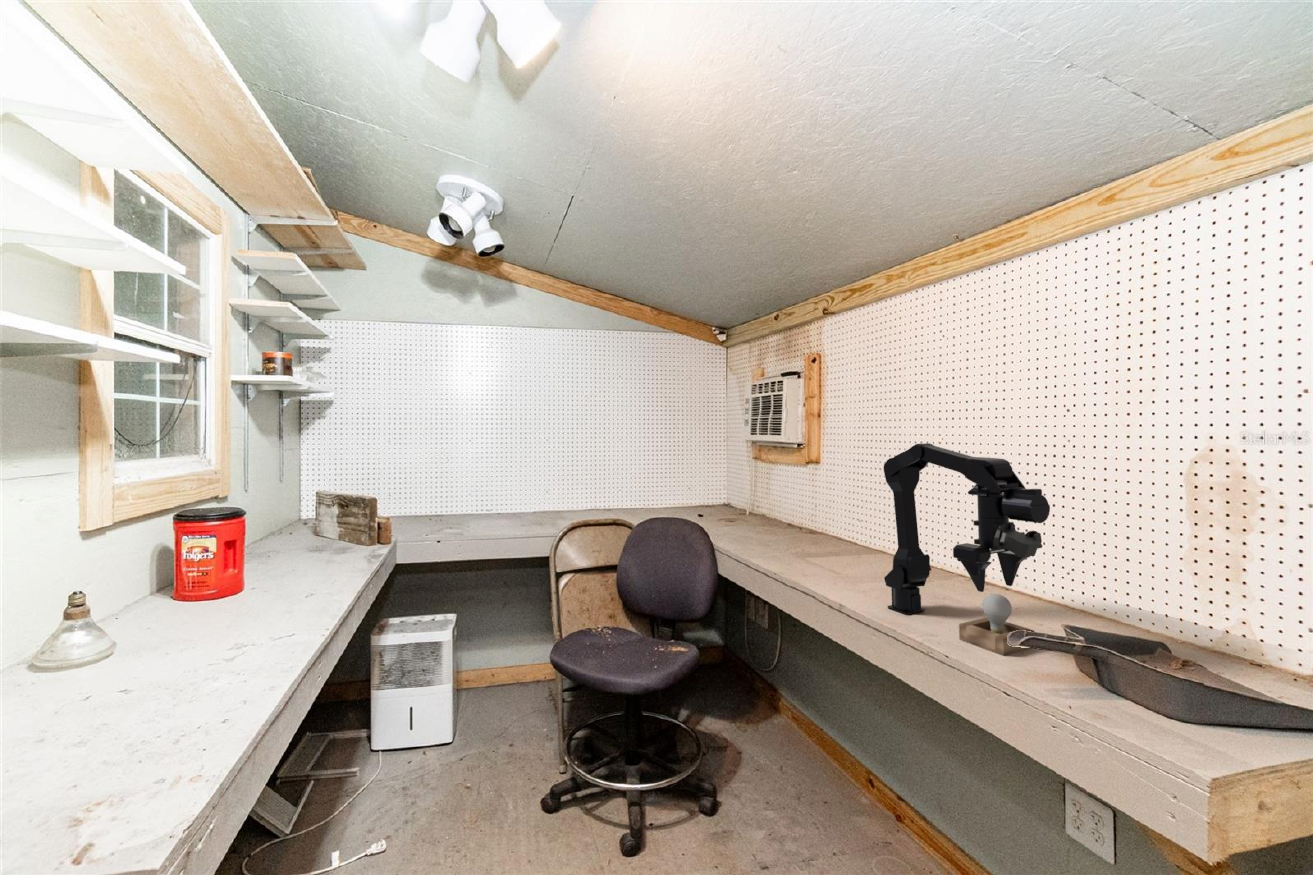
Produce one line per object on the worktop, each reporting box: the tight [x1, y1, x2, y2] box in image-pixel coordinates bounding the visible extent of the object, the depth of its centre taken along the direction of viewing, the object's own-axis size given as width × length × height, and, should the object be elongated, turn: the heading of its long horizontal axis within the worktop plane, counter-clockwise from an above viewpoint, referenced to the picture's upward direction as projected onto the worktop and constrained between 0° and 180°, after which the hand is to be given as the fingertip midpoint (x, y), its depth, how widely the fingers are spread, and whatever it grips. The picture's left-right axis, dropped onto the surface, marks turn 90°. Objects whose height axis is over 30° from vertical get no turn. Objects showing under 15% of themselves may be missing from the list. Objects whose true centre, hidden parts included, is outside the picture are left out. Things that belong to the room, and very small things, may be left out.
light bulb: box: [981, 593, 1013, 634], centre depth 119 cm, size 6×6×10 cm
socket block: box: [958, 616, 1035, 657], centre depth 119 cm, size 10×10×4 cm
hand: (995, 588), depth 119 cm, fingers open, 9 cm apart
